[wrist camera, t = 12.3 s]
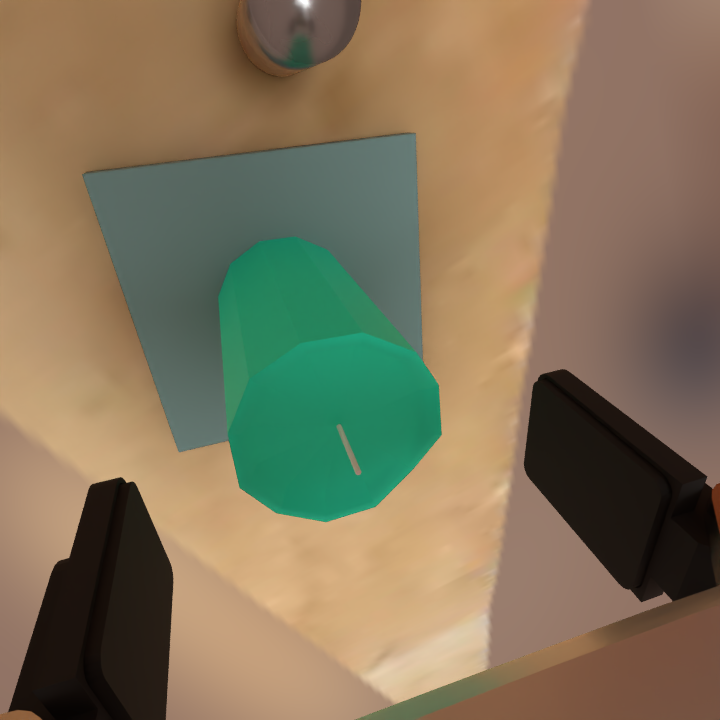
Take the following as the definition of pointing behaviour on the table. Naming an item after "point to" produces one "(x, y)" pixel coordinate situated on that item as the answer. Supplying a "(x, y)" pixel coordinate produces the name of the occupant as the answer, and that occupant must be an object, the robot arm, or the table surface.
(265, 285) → the candle
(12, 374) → the table surface
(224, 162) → the mat
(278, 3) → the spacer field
